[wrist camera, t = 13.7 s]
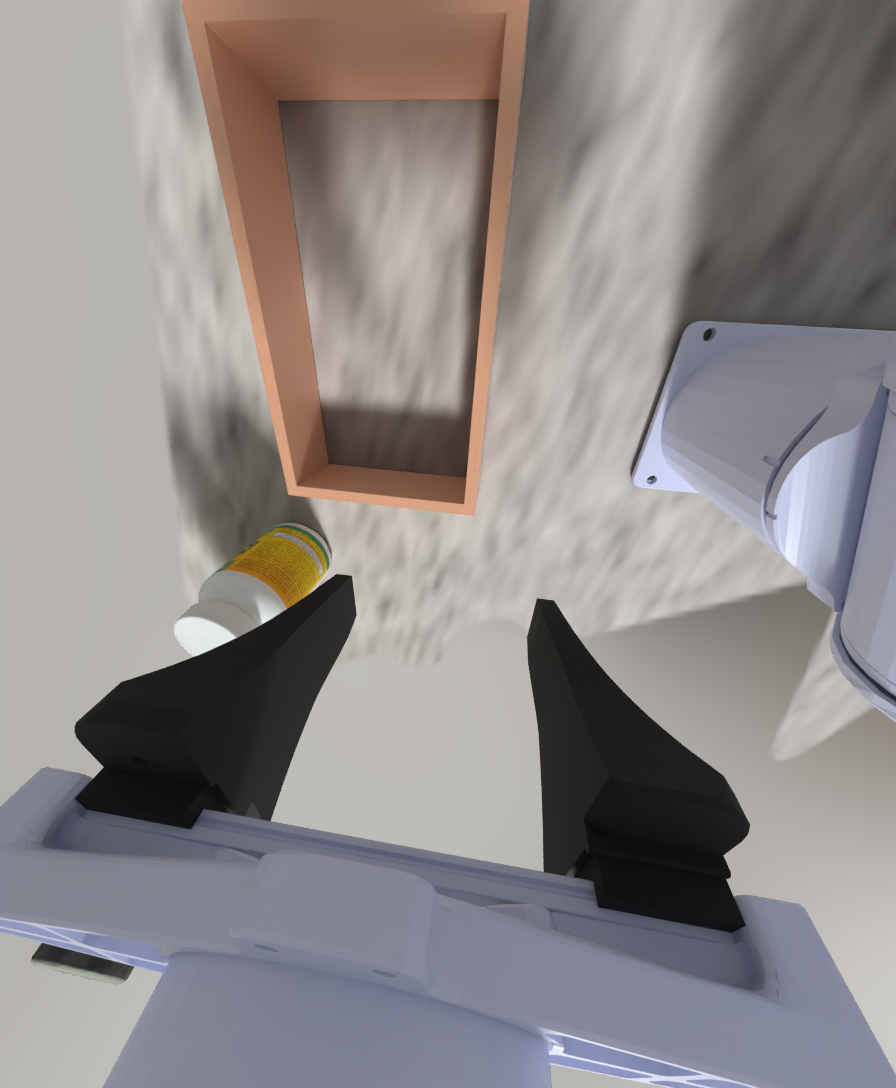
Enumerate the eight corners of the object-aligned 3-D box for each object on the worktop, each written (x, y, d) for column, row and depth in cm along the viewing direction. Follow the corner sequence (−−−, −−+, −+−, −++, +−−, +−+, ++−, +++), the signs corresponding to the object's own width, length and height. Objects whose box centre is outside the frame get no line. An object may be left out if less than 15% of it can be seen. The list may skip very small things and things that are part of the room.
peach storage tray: (524, 74, 12) (531, -26, 9) (479, 488, 21) (474, 515, 18) (260, 78, 13) (179, -11, 10) (321, 471, 22) (288, 494, 19)
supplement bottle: (322, 588, 28) (247, 689, 20) (262, 557, 27) (158, 650, 19) (343, 542, 25) (265, 638, 17) (276, 507, 24) (161, 590, 16)
